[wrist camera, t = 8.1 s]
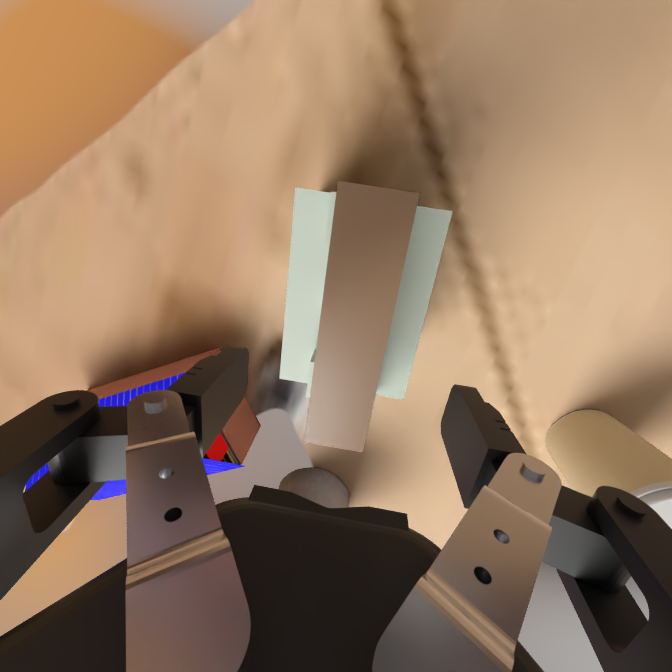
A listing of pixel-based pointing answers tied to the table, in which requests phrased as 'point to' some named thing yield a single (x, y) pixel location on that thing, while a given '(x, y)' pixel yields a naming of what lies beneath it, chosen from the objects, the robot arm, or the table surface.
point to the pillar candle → (317, 487)
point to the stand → (309, 282)
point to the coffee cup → (610, 459)
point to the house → (233, 436)
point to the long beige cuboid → (357, 310)
